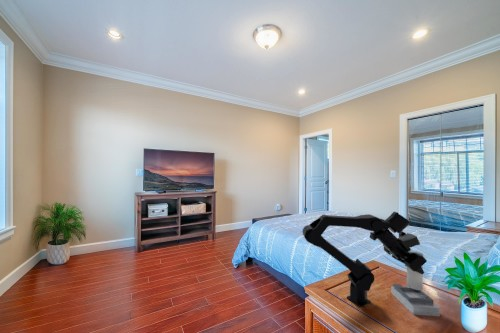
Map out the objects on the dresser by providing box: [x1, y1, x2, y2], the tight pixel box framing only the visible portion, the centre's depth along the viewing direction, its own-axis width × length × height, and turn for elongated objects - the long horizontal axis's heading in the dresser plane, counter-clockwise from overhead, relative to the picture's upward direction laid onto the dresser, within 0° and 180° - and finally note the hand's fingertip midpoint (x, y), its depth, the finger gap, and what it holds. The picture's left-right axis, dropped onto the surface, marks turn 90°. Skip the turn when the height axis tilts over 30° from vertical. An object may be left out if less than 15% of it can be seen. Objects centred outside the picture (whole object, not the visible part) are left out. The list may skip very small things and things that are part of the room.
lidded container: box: [406, 249, 424, 291], centre depth 84 cm, size 5×5×13 cm
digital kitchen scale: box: [390, 283, 441, 317], centre depth 84 cm, size 9×14×4 cm, turn 175°
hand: (418, 270), depth 84 cm, fingers closed on lidded container, 5 cm apart
